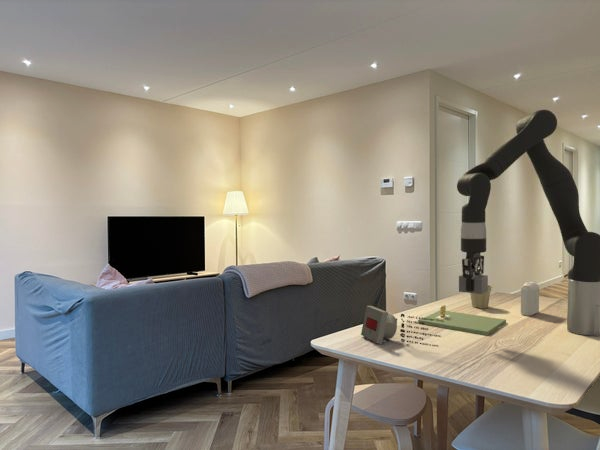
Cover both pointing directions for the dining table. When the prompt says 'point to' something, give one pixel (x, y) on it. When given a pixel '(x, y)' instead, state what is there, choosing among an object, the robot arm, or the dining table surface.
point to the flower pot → (481, 299)
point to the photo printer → (529, 298)
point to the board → (464, 322)
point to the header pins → (442, 311)
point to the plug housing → (475, 284)
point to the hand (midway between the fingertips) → (473, 289)
